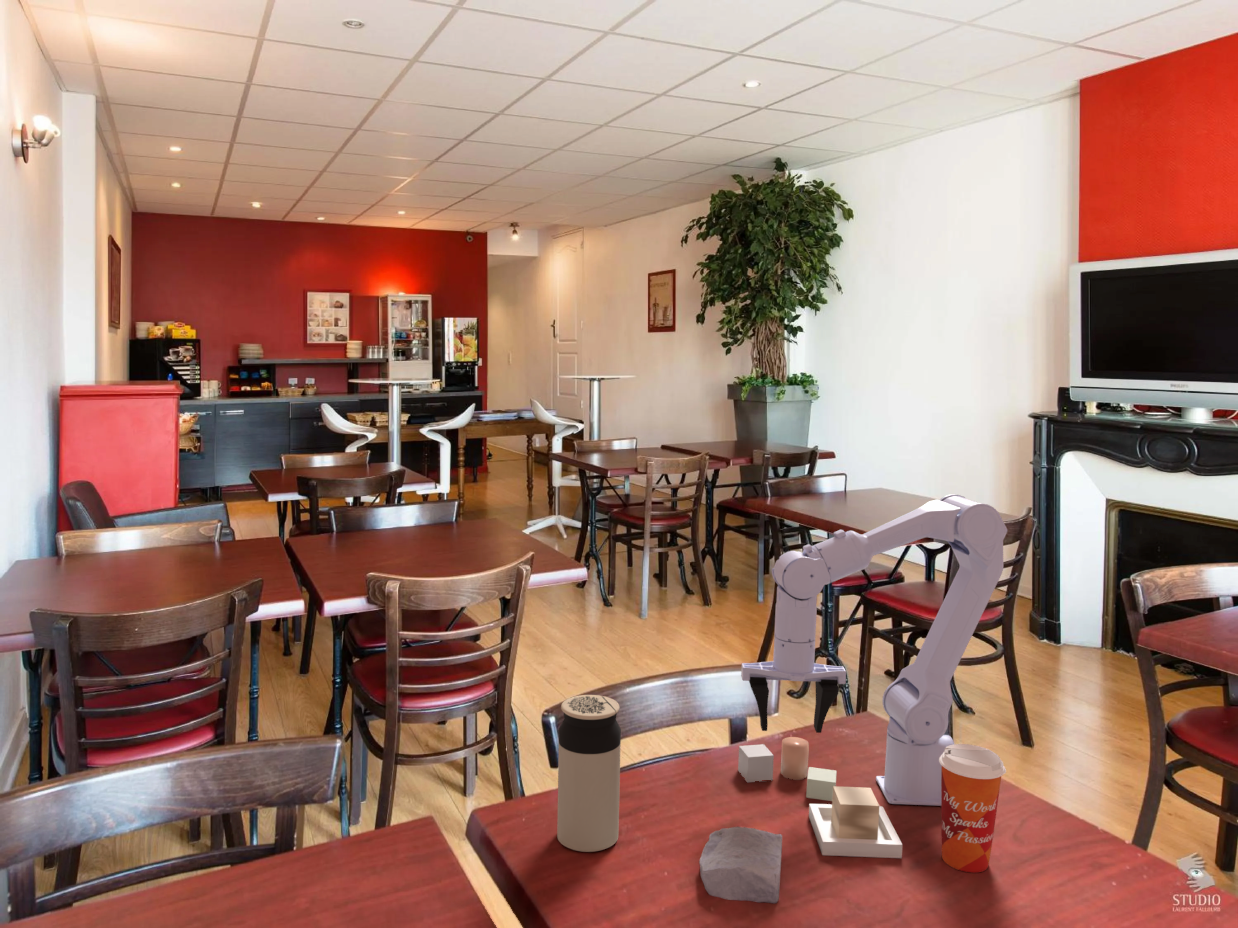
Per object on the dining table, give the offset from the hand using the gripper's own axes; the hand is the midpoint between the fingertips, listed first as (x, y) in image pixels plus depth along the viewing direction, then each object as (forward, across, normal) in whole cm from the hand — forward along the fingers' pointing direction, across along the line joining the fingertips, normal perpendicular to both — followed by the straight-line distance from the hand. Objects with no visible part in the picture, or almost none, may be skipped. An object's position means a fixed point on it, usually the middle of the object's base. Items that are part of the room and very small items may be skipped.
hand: (790, 728), depth 131 cm
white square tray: (+10, +7, -11) cm, 16 cm away
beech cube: (+9, +7, -11) cm, 16 cm away
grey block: (+10, -4, +6) cm, 12 cm away
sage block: (+10, +5, +1) cm, 11 cm away
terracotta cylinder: (+10, +2, +7) cm, 12 cm away
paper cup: (+10, +20, -16) cm, 28 cm away
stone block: (+10, -9, -21) cm, 25 cm away
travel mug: (+10, -28, -14) cm, 33 cm away
